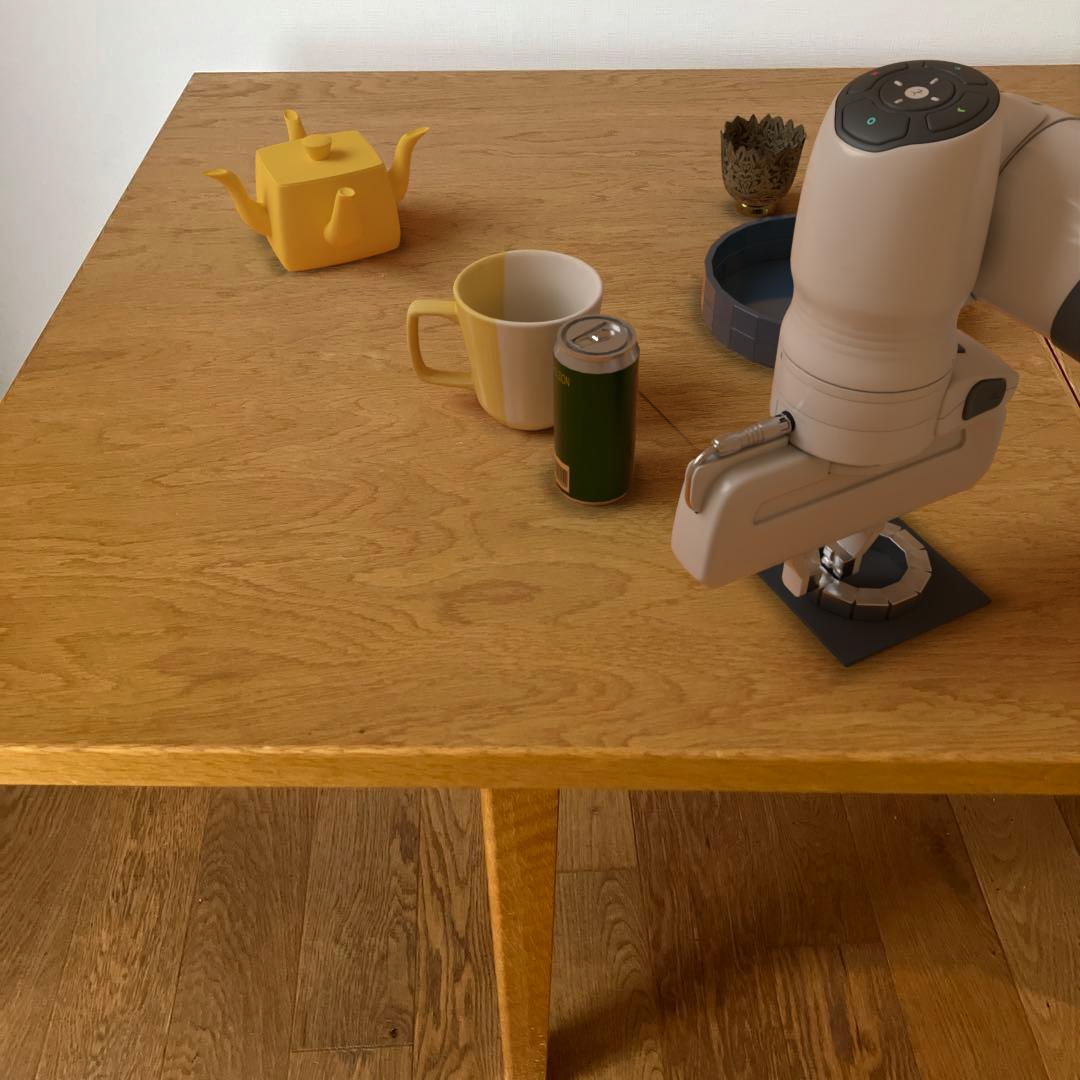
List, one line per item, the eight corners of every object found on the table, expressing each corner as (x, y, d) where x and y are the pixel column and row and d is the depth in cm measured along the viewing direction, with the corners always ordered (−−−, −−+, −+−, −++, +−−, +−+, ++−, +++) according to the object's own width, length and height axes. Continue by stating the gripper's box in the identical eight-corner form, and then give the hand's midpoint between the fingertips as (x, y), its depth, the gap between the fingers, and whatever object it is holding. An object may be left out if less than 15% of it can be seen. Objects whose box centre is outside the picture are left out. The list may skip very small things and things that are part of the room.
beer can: (585, 521, 79) (587, 370, 71) (539, 479, 82) (535, 330, 74) (649, 490, 81) (658, 340, 73) (601, 451, 84) (605, 303, 76)
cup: (729, 189, 114) (737, 106, 108) (804, 204, 111) (816, 120, 106) (701, 223, 109) (708, 138, 103) (780, 239, 106) (791, 154, 101)
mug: (614, 380, 91) (618, 256, 84) (582, 462, 84) (583, 334, 77) (444, 355, 94) (433, 234, 87) (398, 432, 86) (383, 306, 79)
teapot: (219, 267, 104) (196, 161, 98) (297, 196, 114) (281, 96, 108) (370, 295, 101) (357, 187, 94) (437, 219, 110) (429, 116, 104)
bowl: (834, 242, 106) (842, 195, 103) (978, 342, 94) (992, 292, 91) (658, 294, 100) (661, 246, 97) (788, 408, 88) (796, 356, 85)
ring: (870, 516, 78) (874, 500, 77) (953, 593, 73) (958, 577, 72) (768, 555, 75) (770, 539, 74) (846, 638, 70) (850, 621, 69)
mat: (873, 503, 80) (874, 496, 79) (990, 607, 73) (992, 600, 72) (736, 556, 76) (737, 549, 76) (844, 671, 69) (846, 664, 69)
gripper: (725, 483, 57) (703, 675, 67) (1044, 368, 64) (983, 556, 73) (656, 414, 62) (644, 603, 71) (963, 313, 68) (915, 497, 78)
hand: (819, 578), depth 72 cm, fingers closed on ring, 1 cm apart
